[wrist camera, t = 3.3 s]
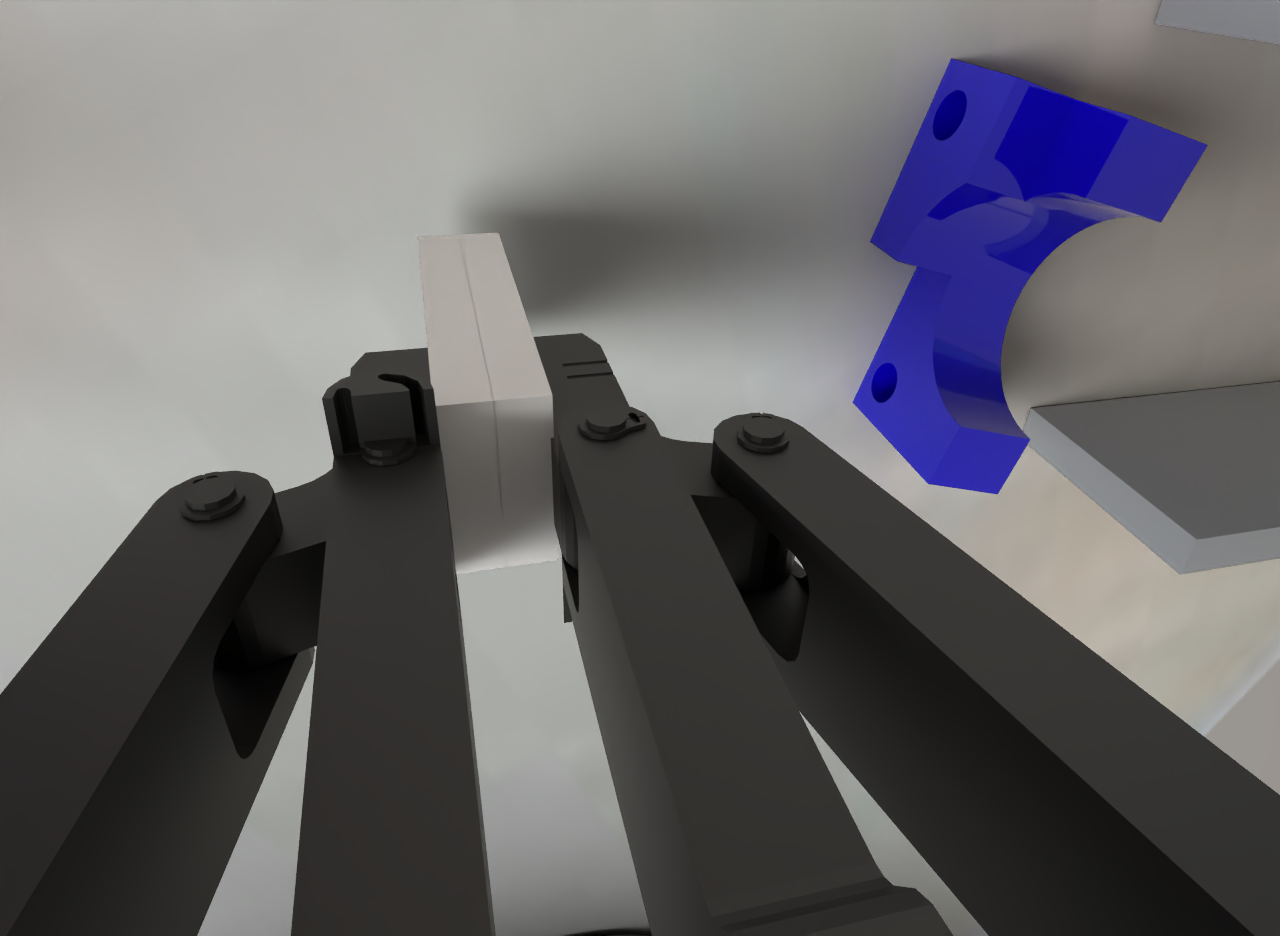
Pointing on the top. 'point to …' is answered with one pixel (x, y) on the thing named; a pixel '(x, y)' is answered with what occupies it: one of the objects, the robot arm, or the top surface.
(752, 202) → the top surface
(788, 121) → the top surface
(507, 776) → the top surface
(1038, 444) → the grey open box
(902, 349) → the cable holder
